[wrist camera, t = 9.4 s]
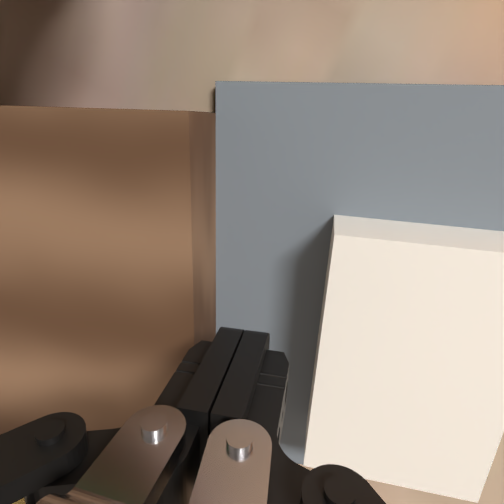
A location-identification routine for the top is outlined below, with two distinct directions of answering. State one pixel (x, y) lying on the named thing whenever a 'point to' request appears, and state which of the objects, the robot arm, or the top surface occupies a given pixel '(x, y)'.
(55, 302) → the brown wooden board
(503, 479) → the top surface
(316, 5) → the top surface
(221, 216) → the mat
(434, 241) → the tile
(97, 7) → the top surface
